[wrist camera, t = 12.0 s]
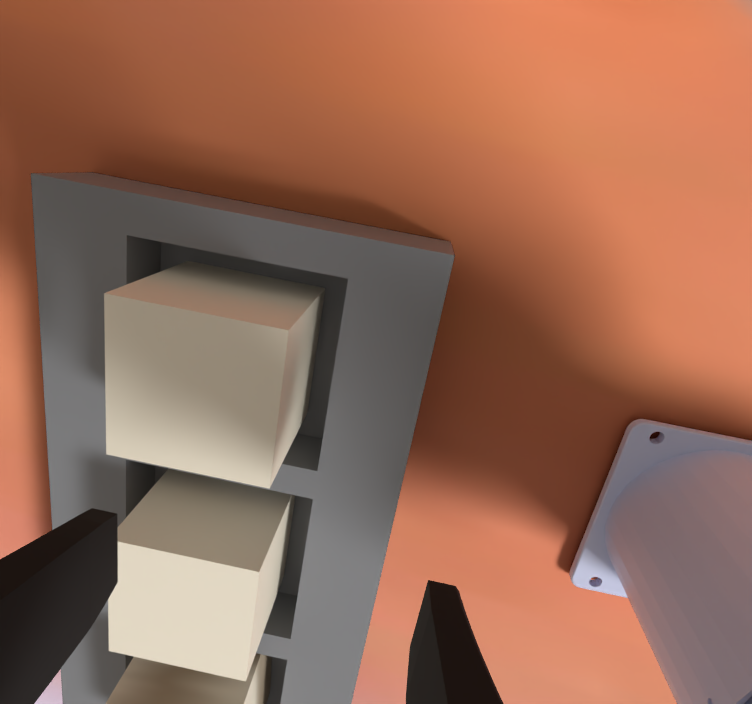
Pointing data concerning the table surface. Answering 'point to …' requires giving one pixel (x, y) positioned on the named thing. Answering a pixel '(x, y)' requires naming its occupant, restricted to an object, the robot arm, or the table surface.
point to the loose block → (190, 685)
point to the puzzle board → (325, 442)
